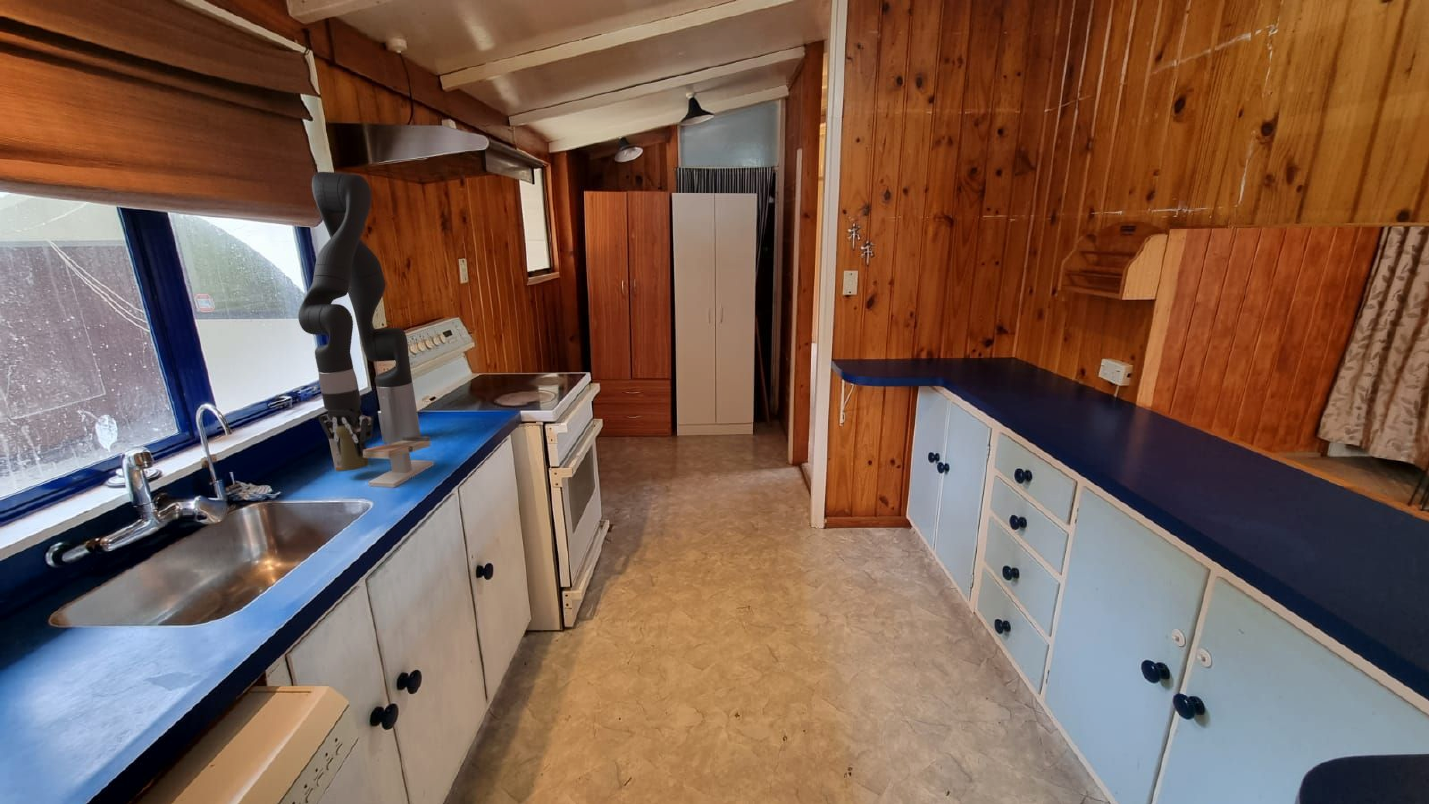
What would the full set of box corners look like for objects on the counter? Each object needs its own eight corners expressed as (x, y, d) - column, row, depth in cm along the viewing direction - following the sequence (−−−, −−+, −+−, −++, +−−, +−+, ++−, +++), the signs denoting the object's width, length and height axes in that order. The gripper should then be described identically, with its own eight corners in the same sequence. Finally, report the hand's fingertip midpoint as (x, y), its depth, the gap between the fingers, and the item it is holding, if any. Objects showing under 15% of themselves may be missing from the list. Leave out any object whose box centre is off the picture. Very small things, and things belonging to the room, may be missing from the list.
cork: (356, 471, 138) (347, 428, 135) (335, 469, 139) (326, 426, 136) (375, 461, 143) (367, 420, 140) (355, 460, 145) (346, 419, 142)
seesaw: (363, 457, 134) (362, 447, 133) (407, 445, 148) (406, 435, 148) (389, 459, 133) (388, 448, 132) (430, 446, 147) (430, 436, 147)
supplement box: (341, 461, 152) (331, 414, 149) (361, 458, 154) (353, 412, 151) (334, 471, 145) (324, 422, 142) (356, 468, 147) (346, 420, 143)
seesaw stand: (368, 486, 136) (364, 462, 134) (410, 463, 150) (407, 442, 148) (394, 487, 135) (390, 464, 133) (434, 464, 149) (430, 443, 147)
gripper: (377, 385, 138) (389, 451, 143) (327, 383, 140) (340, 448, 145) (353, 393, 131) (367, 462, 136) (300, 391, 133) (315, 459, 138)
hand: (353, 454), depth 140 cm, fingers closed on cork, 4 cm apart
